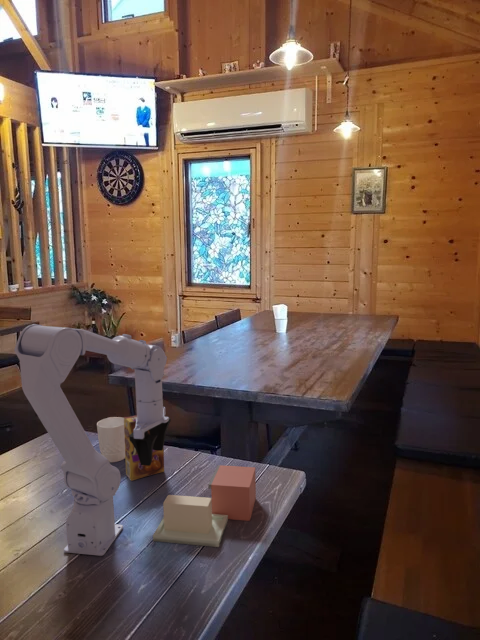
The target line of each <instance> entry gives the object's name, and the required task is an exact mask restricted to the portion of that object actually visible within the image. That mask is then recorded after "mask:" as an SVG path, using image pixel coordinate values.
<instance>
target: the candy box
mask: <svg viewBox="0 0 480 640" xmlns="http://www.w3.org/2000/svg"><path fill="white" fill-rule="evenodd" d="M123 418H124V435H125V475H126V477H128V479H129V480H130V481H131V482H132V481H136V480H138V479H142V478H147V477H149V476H152V475H156V474H159V473H164V472H165V456H164V455H165V452H164V451H165V450H164V448H165V447H164V446H163V450H162V451H159V450H153V453H152V462H151V465H150V466H146V465H141V463H140V460H139V457H138V454H137V451H136V449H135V447H134V445H133V444H132V443H131V441H130V440H129V435H130V434H131V433H132V432H133V430H134V429H135V426H136V418H137V414H135V415H130V416H124V417H123ZM133 433H134V432H133ZM148 434H149V435H150V432H149V430H148Z"/></svg>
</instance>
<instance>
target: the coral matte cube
mask: <svg viewBox="0 0 480 640" xmlns="http://www.w3.org/2000/svg"><path fill="white" fill-rule="evenodd" d="M256 477H257V476H256V467H255V466H254V467H252V466H240V465H239V466H237V465H235V466H234V465H222V464H221V465H220V464H217V466H216V467H215V470H214V472H213V474H212V476H211V479H210V481H209V482H208V485H207V486H208V487H207V488H208V489H210V491H211V492H210V493H211V494H210V495H211V501H212V514H220V515H228V520H235V521H247V522H250V521H251V518H252V515H253V510H254V507H255V503H256V498H257V496H256V495H257V494H256V493H257V492H256V490H257V488H256V483H257V482H256V481H257V480H256Z"/></svg>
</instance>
